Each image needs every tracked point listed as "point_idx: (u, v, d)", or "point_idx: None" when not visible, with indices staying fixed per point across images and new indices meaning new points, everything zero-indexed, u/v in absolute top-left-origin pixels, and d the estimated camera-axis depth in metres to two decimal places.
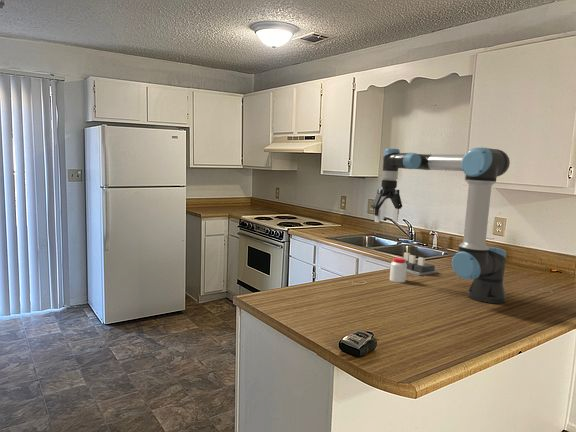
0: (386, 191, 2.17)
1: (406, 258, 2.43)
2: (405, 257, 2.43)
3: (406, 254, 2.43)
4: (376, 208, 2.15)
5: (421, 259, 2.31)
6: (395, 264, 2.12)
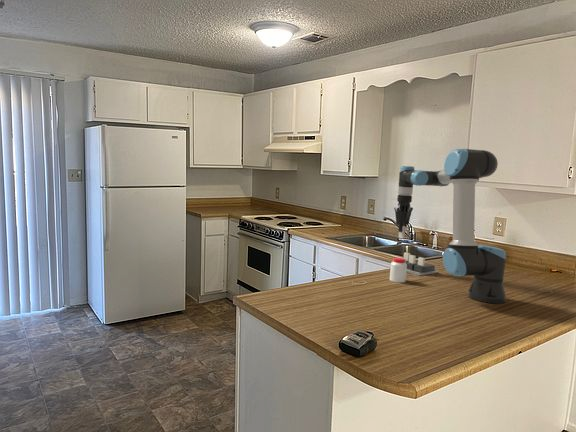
0: (402, 205, 2.34)
1: (406, 258, 2.43)
2: (405, 257, 2.43)
3: (406, 254, 2.43)
4: (400, 225, 2.36)
5: (421, 259, 2.31)
6: (395, 264, 2.12)
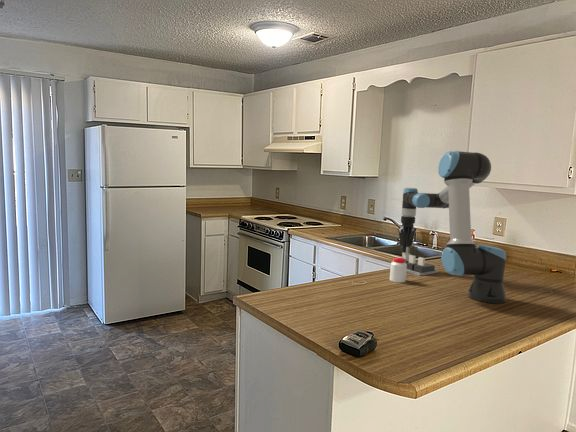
0: (405, 227, 2.38)
1: None
2: None
3: None
4: (404, 246, 2.40)
5: (421, 259, 2.31)
6: (395, 264, 2.12)
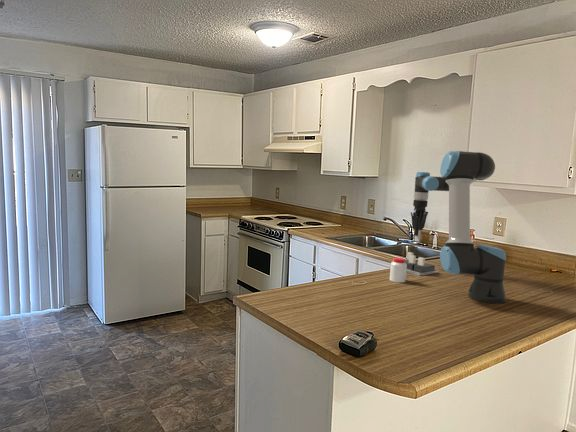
0: (418, 210, 2.43)
1: None
2: (408, 257, 2.45)
3: (409, 254, 2.44)
4: (416, 229, 2.45)
5: (421, 259, 2.31)
6: (395, 264, 2.12)
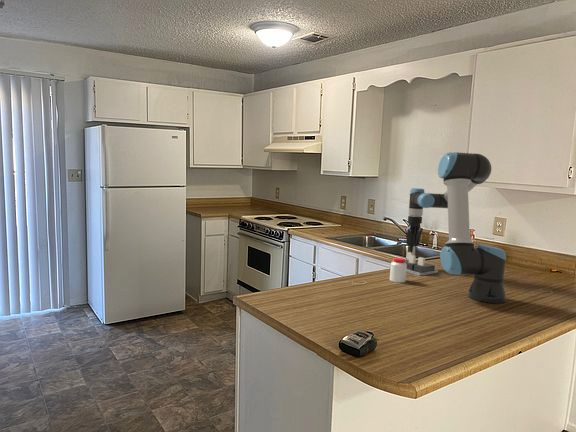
0: (412, 226, 2.41)
1: None
2: (408, 257, 2.45)
3: (409, 254, 2.44)
4: (411, 245, 2.43)
5: (421, 259, 2.31)
6: (395, 264, 2.12)
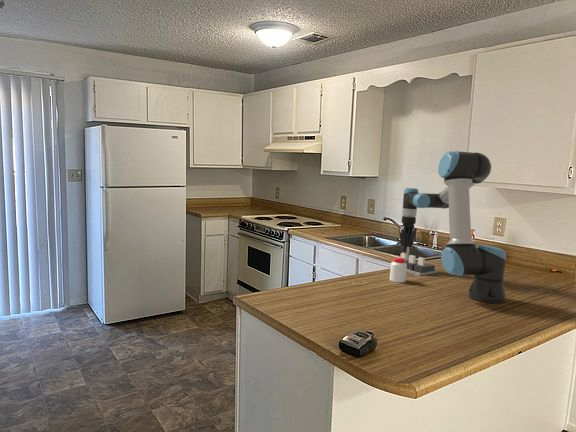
0: (406, 227, 2.38)
1: None
2: (402, 257, 2.42)
3: (403, 254, 2.41)
4: (404, 246, 2.40)
5: (421, 259, 2.31)
6: (395, 264, 2.12)
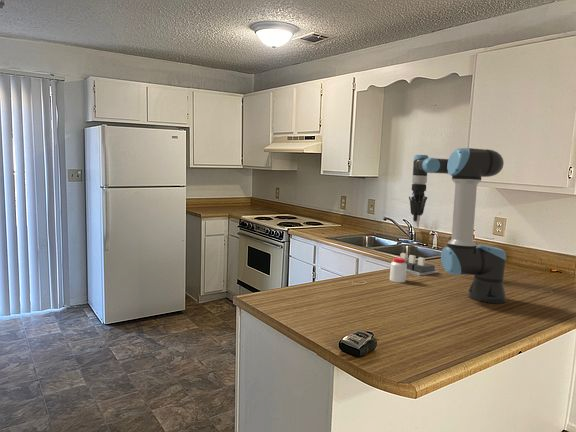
0: (416, 194, 2.34)
1: None
2: (402, 257, 2.42)
3: (403, 254, 2.41)
4: (415, 214, 2.35)
5: (421, 259, 2.31)
6: (395, 264, 2.12)
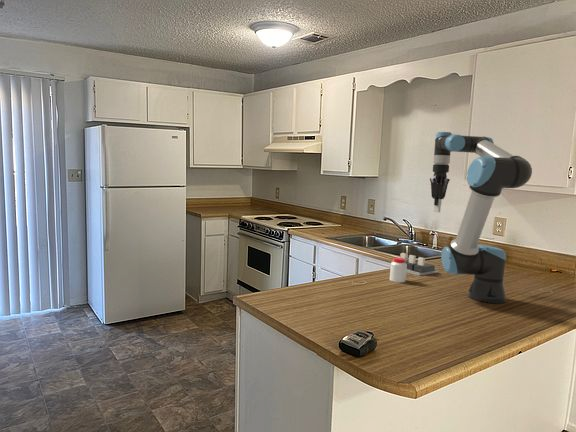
0: (438, 176, 2.12)
1: None
2: (402, 257, 2.42)
3: (403, 254, 2.41)
4: (436, 198, 2.14)
5: (421, 259, 2.31)
6: (395, 264, 2.12)
